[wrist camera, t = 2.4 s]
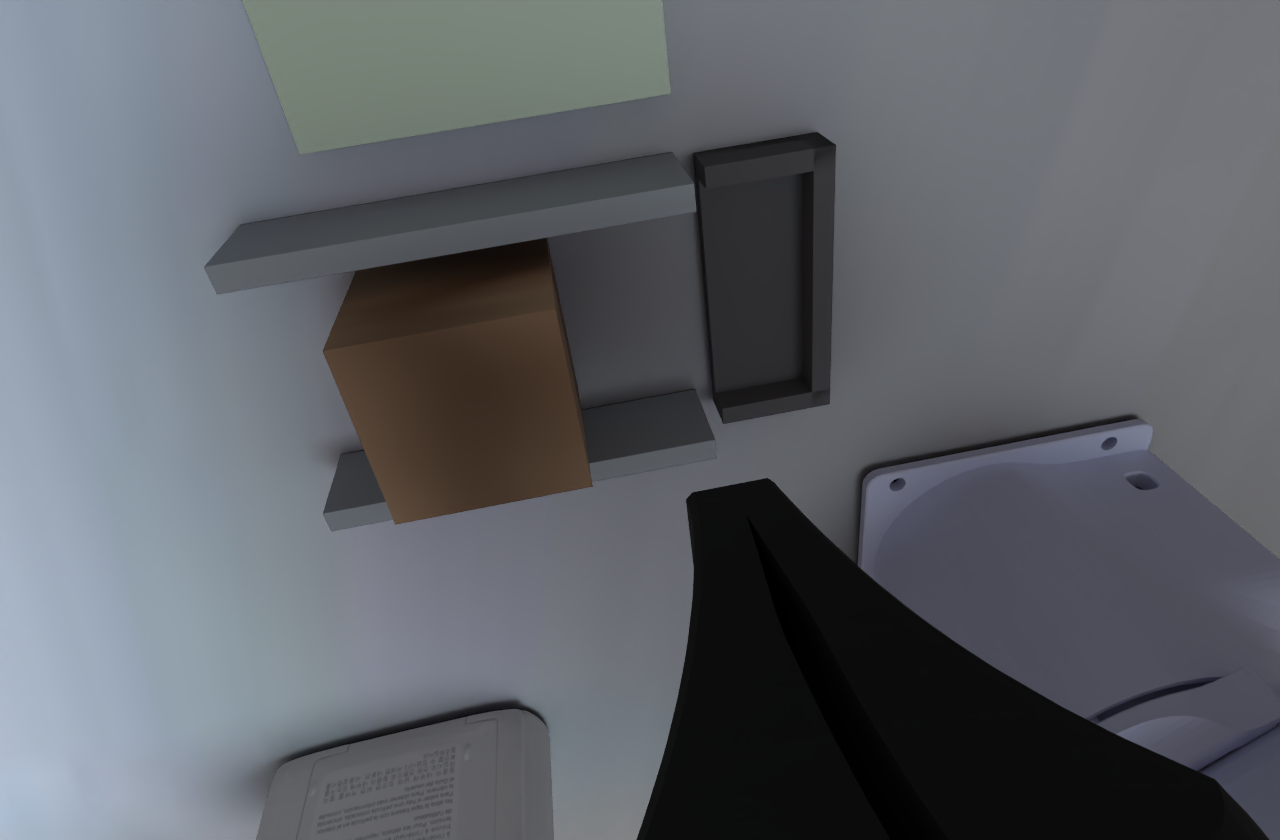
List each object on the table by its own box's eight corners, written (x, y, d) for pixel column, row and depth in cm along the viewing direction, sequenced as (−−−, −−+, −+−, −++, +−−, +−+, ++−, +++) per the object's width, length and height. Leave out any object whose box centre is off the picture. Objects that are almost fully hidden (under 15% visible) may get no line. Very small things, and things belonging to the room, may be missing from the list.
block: (545, 229, 18) (555, 309, 15) (577, 384, 21) (592, 486, 17) (360, 261, 18) (323, 350, 14) (415, 415, 21) (395, 524, 17)
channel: (672, 152, 18) (694, 183, 16) (696, 406, 22) (716, 458, 20) (240, 225, 17) (204, 267, 15) (348, 471, 21) (331, 531, 19)
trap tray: (817, 132, 18) (835, 145, 17) (815, 381, 22) (829, 404, 21) (693, 153, 18) (704, 167, 17) (713, 400, 22) (723, 424, 21)
